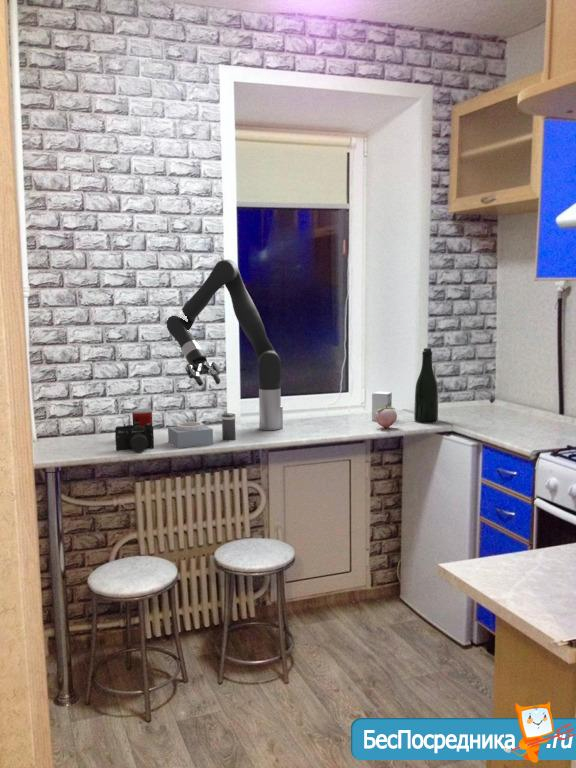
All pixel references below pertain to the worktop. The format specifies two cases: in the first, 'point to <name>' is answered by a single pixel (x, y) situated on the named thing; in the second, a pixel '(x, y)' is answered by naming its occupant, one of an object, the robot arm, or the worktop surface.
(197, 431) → the low grey box
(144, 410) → the canned food
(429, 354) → the dark green wine bottle
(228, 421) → the lens
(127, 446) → the camera
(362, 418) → the worktop surface
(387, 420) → the decorative fruit
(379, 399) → the supplement box
